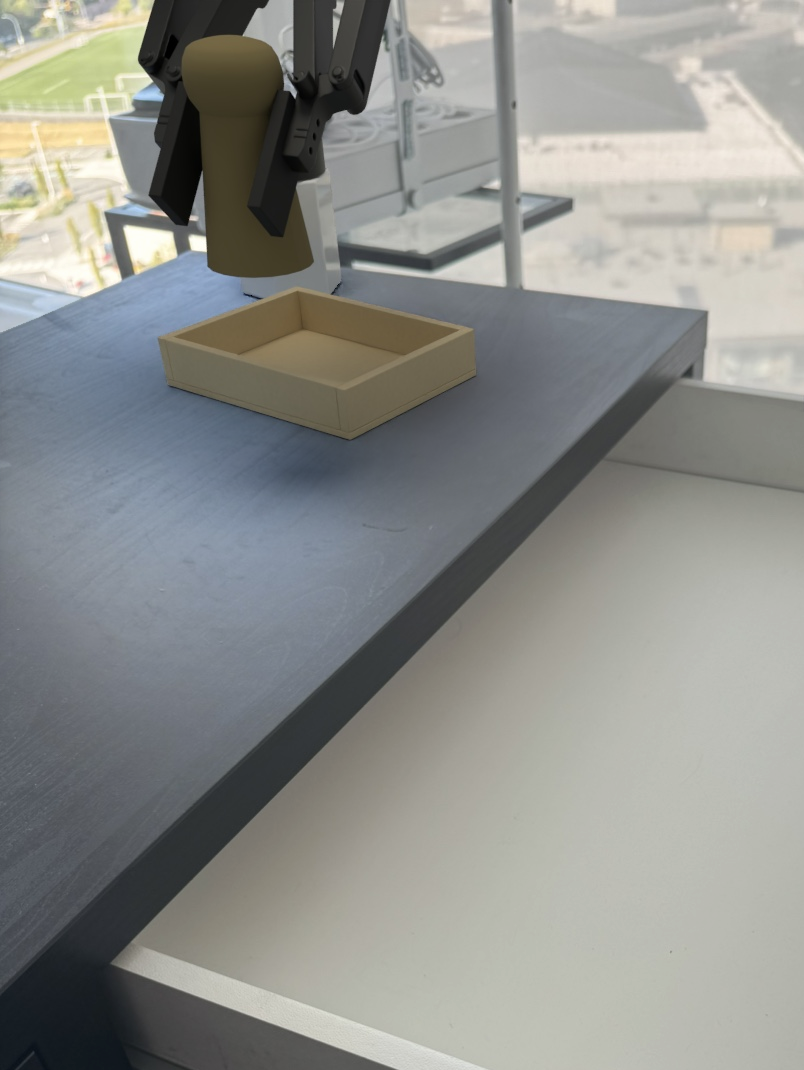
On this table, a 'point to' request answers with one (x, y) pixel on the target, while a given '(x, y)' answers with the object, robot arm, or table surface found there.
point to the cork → (239, 155)
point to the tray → (319, 360)
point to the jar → (321, 237)
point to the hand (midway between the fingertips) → (216, 215)
